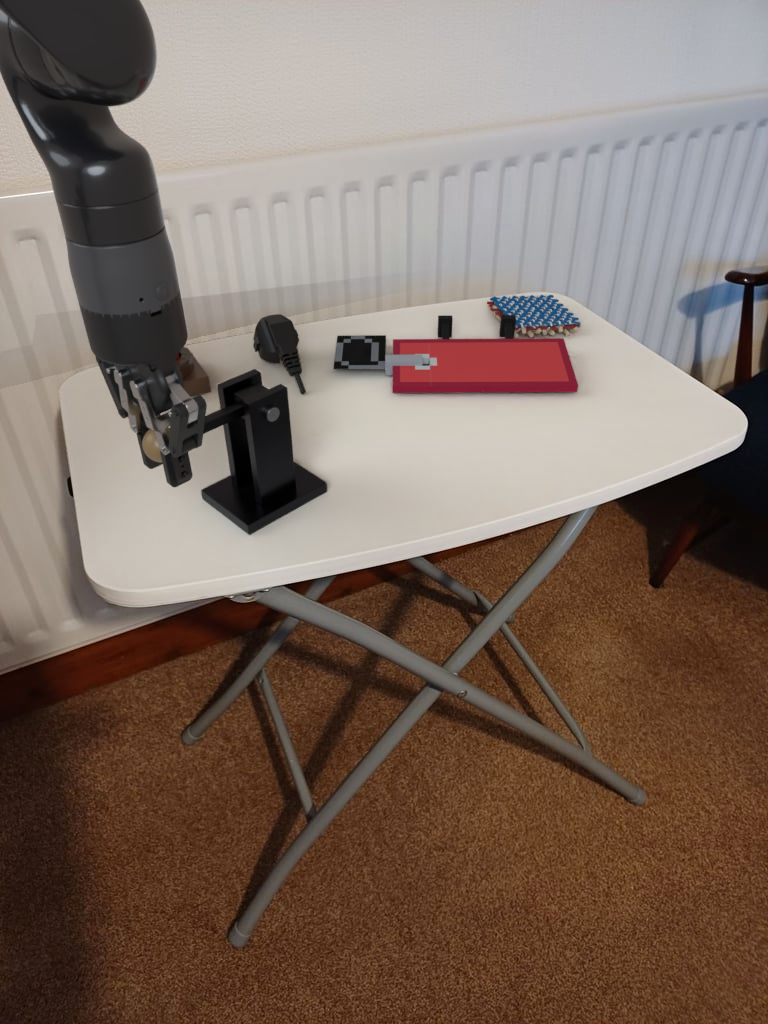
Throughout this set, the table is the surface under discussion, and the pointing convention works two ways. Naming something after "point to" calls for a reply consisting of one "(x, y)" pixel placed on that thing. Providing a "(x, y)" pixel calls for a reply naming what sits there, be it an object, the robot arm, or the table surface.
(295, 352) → the power plug
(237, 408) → the switch lever
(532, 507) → the table surface
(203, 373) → the button block
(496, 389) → the red board with handle
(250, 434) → the switch bracket
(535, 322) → the woven mat
